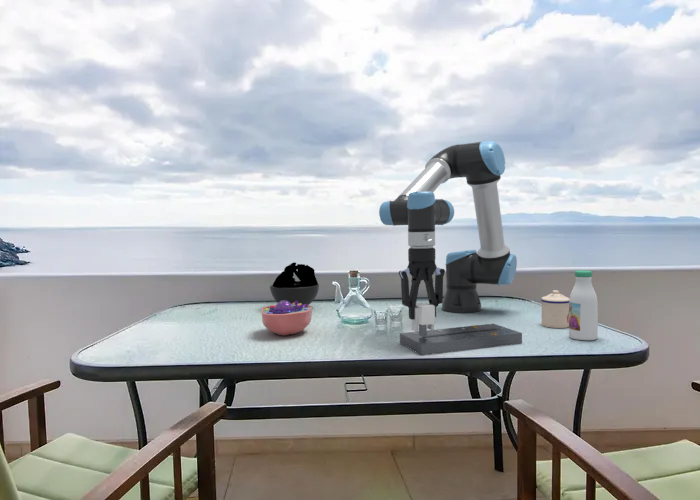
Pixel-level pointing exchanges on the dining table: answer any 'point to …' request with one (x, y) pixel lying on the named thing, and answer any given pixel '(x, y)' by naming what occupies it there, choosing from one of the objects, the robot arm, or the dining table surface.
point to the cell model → (286, 317)
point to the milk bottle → (583, 308)
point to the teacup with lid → (555, 310)
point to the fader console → (460, 338)
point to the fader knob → (425, 316)
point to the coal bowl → (295, 285)
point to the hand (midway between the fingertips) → (422, 329)
